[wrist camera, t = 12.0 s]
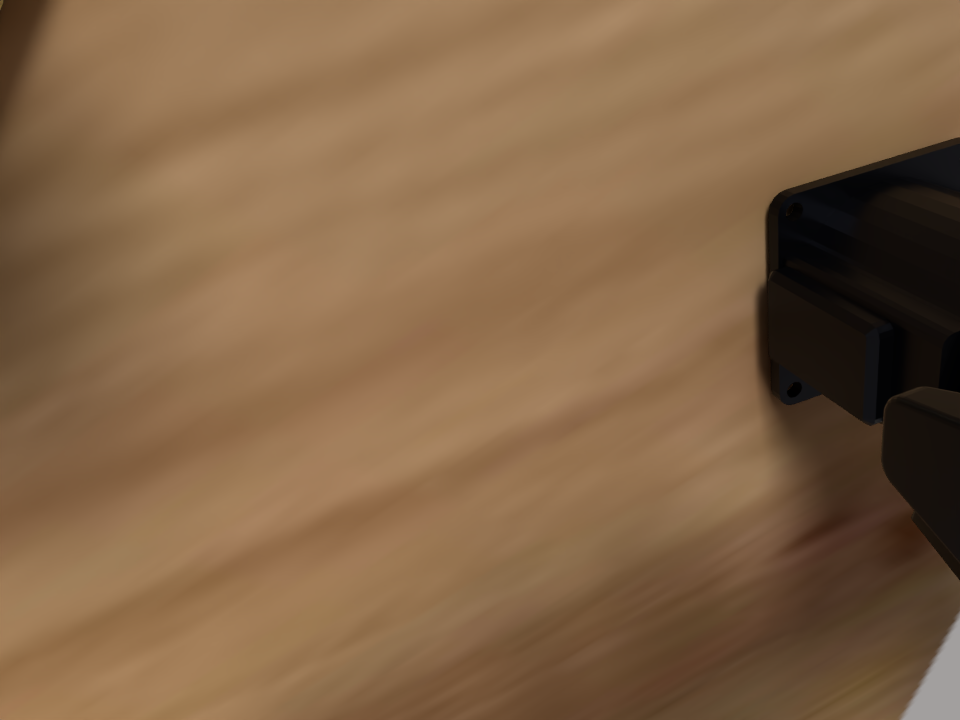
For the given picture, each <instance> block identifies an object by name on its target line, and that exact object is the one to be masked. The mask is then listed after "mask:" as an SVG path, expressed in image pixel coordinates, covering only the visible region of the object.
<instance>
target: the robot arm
mask: <svg viewBox="0 0 960 720" xmlns="http://www.w3.org/2000/svg"><path fill="white" fill-rule="evenodd" d="M792 204H793V205H794V206H793V210H792V212H791V213H790V214H789V215H788V216H786V212H787V209H788V208H789V206H790V205H792ZM769 260H770V276H769V279H768V331H769V356H770V358H771V390H772V394H773V395H774V396H775V397H776V398H777V399H778V400H780V401H781V402H782V403H784V404H787V405H792V404H796V403H799V402H802V401H805V400H807V399H810V398H813V397H816V396H818V395H821V394H823V395H825V396H826V397H827V398H829V399H830V400H832V401H833V402H835V403H836V404H837V405H839V406H840V407H842V408H843V409H845V410H846V411H848V412H849V413H850V414H852V415H853V416H855V417H856V418H858V419H859V420H860V421H862V422H864V423H865V424H867V425H870V426H872V425H874V424H877V423H881V424H883V433H882V448H881V462H882V467H883V469H884V472H885V474H886V476H887V478H888V479H889V481H890V482H891V484H892V485H893V486H894V487H895V488H896V489H897V491H898V492H899V493H900V494H901V495H902V496H903V498H904V499H905V500H906V501H907V502H908V504H909V505H910V506H911V507H912V508H913V509H914V512H913V514H912V516H911V518H912V520H913V521H914V523H915V524H916V525H917V527H918V528H919V529H920V530H921V532H922V533H923V534H924V535H925V537H926V538H927V539H928V541H929V542H930V543H931V544H932V546H933V547H934V548H935V549H936V551H937V552H938V553H939V555H940V556H941V557H942V558H943V560H944V561H945V562H946V563H947V565H948V566H949V567H950V568H951V570H952V571H953V572H954V574H955V575H956V576H957V577H958V579H959V580H960V137H958V138H954V139H951V140H948V141H944V142H941V143H938V144H935V145H931V146H928V147H925V148H921V149H918V150H915V151H912V152H908V153H905V154H902V155H898V156H895V157H892V158H889V159H885V160H882V161H879V162H875V163H872V164H869V165H866V166H862V167H859V168H856V169H852V170H849V171H846V172H842V173H839V174H836V175H833V176H829V177H826V178H823V179H819V180H816V181H813V182H810V183H806V184H803V185H800V186H796V187H793V188H790V189H787V190H784V191H782V192H780V193H779V194H778V195H777V196H776V197H775V198H774V199H773V201H772V203H771V205H770V209H769ZM792 383H793V385H792V387H791V388H790V389H789V390H788V387H789V386H790V385H791V384H792Z"/></svg>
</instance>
